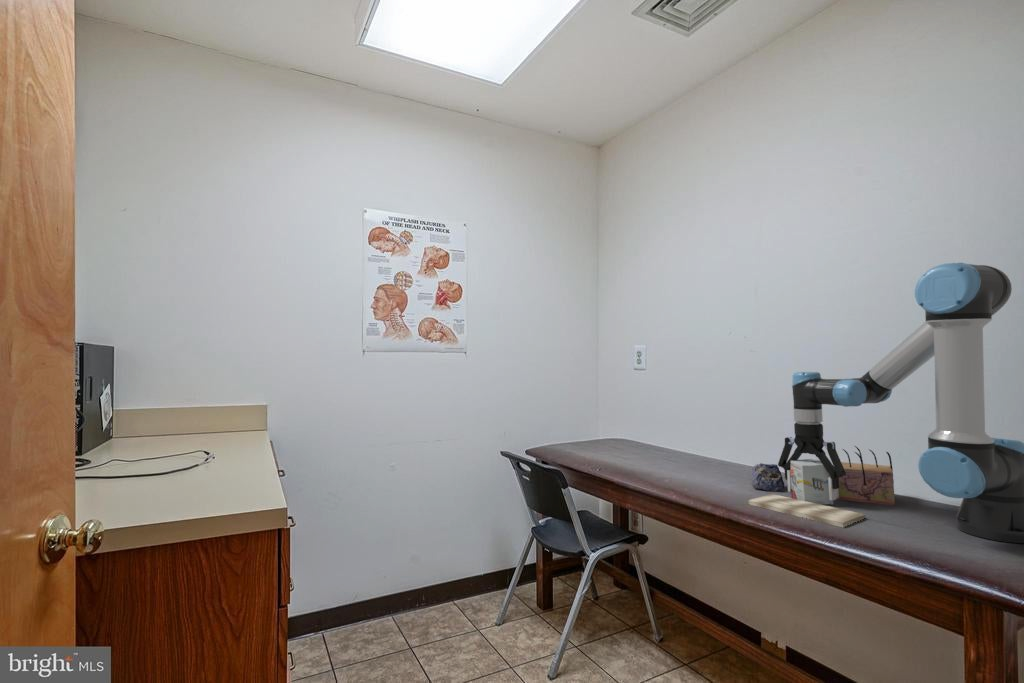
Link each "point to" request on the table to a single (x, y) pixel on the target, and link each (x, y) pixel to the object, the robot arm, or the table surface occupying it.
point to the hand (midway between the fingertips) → (811, 495)
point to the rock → (767, 477)
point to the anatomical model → (867, 482)
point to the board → (807, 510)
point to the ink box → (810, 481)
